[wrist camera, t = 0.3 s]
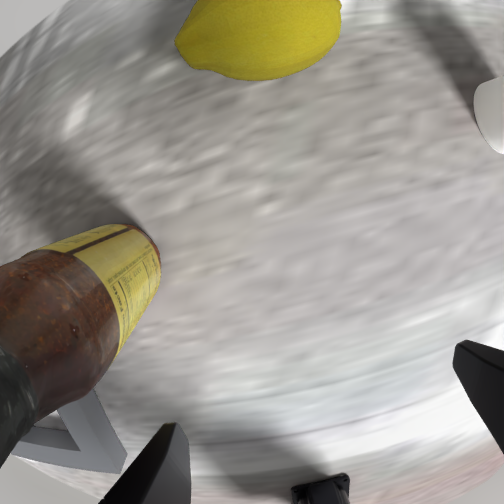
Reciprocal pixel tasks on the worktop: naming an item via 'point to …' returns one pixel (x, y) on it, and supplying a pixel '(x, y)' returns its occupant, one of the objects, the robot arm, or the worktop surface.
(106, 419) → the socket frame
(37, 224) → the worktop surface
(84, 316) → the sauce bottle
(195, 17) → the lemon
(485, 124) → the cylindrical container
